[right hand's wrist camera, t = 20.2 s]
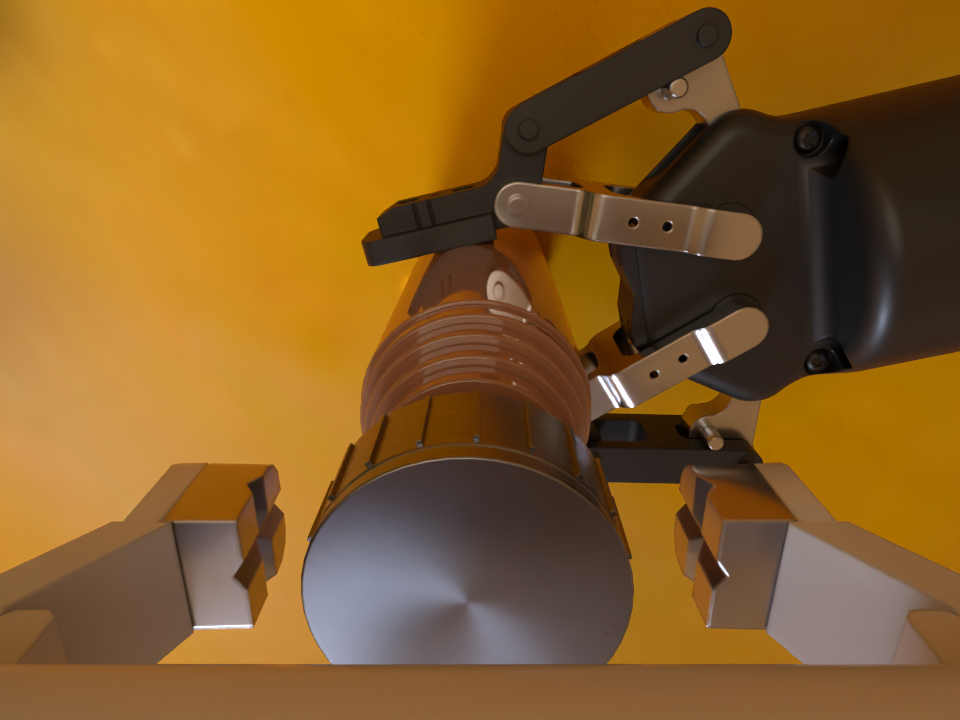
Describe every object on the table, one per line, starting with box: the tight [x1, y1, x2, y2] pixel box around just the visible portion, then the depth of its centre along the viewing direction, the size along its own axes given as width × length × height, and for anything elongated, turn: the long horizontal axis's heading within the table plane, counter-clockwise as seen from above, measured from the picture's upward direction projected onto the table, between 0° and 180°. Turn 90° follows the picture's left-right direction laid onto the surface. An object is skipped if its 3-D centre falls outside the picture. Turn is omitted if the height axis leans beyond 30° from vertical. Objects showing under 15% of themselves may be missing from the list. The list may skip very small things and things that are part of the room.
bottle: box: [360, 227, 591, 445], centre depth 17 cm, size 5×5×18 cm
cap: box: [301, 390, 634, 664], centre depth 9 cm, size 4×4×2 cm
